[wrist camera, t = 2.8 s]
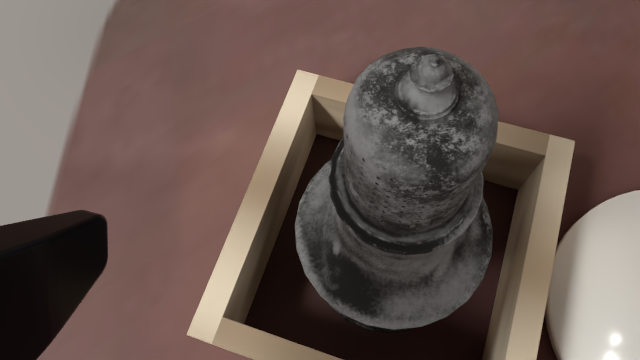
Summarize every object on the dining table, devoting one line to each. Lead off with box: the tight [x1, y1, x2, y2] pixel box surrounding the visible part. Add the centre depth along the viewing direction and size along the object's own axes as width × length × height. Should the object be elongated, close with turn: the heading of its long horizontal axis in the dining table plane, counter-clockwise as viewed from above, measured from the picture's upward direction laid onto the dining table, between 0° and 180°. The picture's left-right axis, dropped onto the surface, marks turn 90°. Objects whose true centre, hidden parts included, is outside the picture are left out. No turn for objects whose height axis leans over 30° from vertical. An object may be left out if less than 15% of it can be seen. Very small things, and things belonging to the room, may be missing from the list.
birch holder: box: [187, 70, 575, 360], centre depth 17 cm, size 10×10×3 cm
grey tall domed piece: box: [295, 47, 498, 333], centre depth 13 cm, size 6×6×12 cm
